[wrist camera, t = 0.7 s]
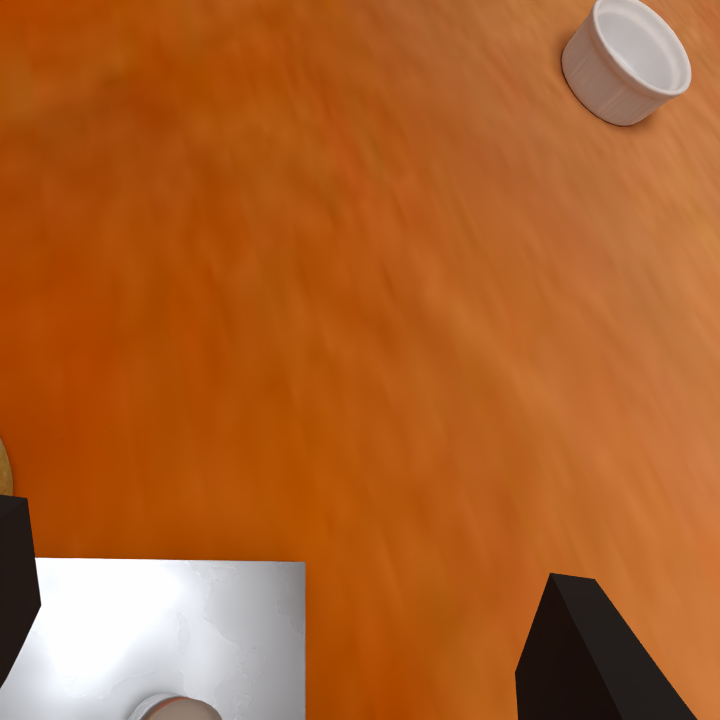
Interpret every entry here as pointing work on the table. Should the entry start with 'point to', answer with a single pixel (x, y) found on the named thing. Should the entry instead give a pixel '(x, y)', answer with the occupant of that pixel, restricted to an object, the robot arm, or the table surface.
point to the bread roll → (5, 473)
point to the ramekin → (625, 62)
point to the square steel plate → (162, 642)
